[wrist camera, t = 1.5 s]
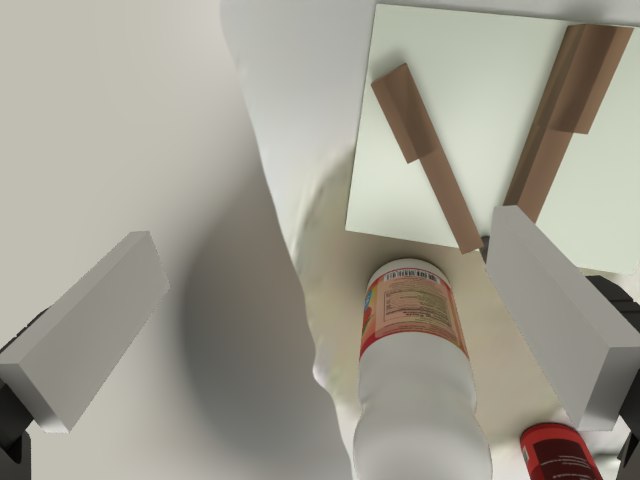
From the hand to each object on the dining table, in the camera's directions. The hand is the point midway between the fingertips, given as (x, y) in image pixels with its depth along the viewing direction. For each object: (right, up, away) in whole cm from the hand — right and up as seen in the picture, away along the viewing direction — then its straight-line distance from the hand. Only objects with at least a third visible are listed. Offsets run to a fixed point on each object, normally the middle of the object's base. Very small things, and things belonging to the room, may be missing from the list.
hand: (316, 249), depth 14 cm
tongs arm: (+10, +7, +19) cm, 23 cm away
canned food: (+31, -26, +35) cm, 54 cm away
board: (+18, +8, +18) cm, 27 cm away
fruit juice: (+10, -5, +27) cm, 30 cm away
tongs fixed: (+19, +8, +17) cm, 27 cm away
